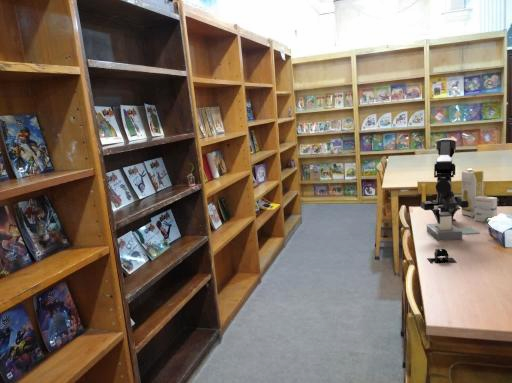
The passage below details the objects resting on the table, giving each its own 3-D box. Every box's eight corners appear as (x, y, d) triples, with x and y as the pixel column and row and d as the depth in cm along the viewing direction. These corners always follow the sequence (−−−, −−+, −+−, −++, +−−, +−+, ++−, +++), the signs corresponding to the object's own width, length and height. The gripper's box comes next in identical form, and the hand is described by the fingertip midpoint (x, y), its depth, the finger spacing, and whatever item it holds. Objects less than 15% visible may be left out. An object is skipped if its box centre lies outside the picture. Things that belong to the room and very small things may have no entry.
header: (426, 231, 187) (426, 224, 186) (449, 229, 186) (449, 222, 186) (437, 240, 173) (437, 233, 173) (462, 239, 173) (462, 231, 172)
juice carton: (458, 213, 210) (459, 168, 205) (471, 211, 212) (472, 166, 207) (472, 217, 201) (472, 170, 196) (485, 215, 203) (486, 168, 198)
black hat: (455, 257, 155) (455, 246, 154) (462, 265, 148) (462, 253, 147) (421, 259, 157) (421, 247, 156) (426, 266, 150) (426, 254, 149)
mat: (453, 229, 186) (453, 228, 186) (471, 228, 185) (471, 227, 185) (461, 234, 178) (461, 233, 178) (479, 233, 178) (479, 232, 178)
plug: (437, 231, 182) (437, 212, 180) (447, 231, 182) (447, 211, 180) (441, 234, 178) (441, 215, 176) (451, 234, 177) (451, 214, 176)
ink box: (497, 220, 193) (498, 196, 190) (493, 223, 190) (493, 199, 187) (478, 218, 199) (478, 195, 197) (473, 220, 196) (474, 197, 194)
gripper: (428, 194, 169) (429, 229, 172) (474, 190, 167) (474, 226, 170) (420, 189, 180) (420, 222, 183) (463, 185, 178) (463, 219, 181)
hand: (444, 223), depth 179 cm, fingers closed on plug, 4 cm apart
